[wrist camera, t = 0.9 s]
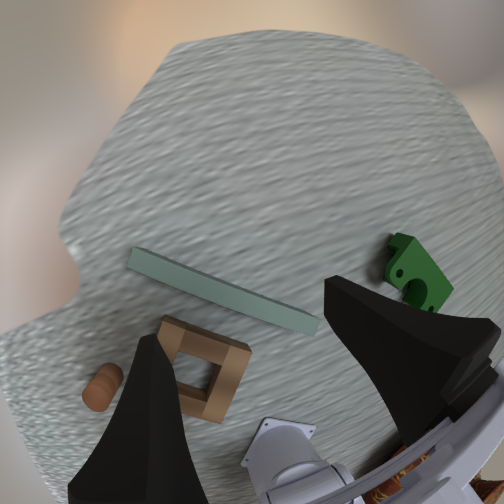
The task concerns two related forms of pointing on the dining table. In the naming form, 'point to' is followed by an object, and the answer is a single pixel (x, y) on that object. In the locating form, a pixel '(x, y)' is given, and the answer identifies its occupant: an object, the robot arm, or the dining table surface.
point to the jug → (483, 488)
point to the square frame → (210, 349)
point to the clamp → (416, 274)
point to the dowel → (103, 387)
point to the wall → (221, 292)
